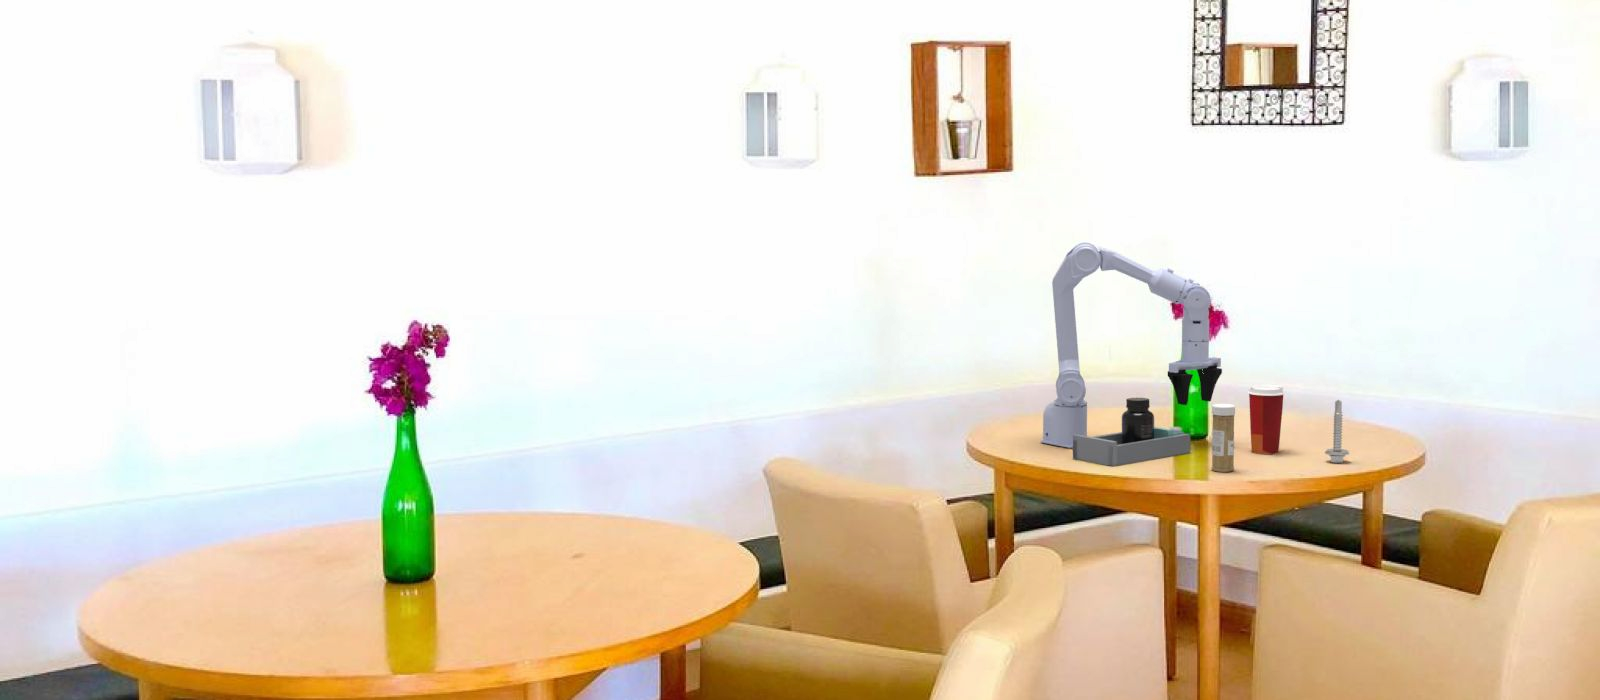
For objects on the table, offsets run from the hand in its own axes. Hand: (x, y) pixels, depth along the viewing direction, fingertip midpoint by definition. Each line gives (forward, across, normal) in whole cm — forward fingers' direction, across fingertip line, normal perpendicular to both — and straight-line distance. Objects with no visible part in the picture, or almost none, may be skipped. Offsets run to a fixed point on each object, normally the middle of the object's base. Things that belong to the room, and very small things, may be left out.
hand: (1194, 402), depth 401 cm
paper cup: (+10, +6, -14) cm, 18 cm away
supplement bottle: (+10, -17, 0) cm, 20 cm away
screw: (+10, +8, -32) cm, 34 cm away
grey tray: (+9, -19, 0) cm, 21 cm away
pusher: (+9, -8, 0) cm, 12 cm away
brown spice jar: (+10, -17, -23) cm, 30 cm away
